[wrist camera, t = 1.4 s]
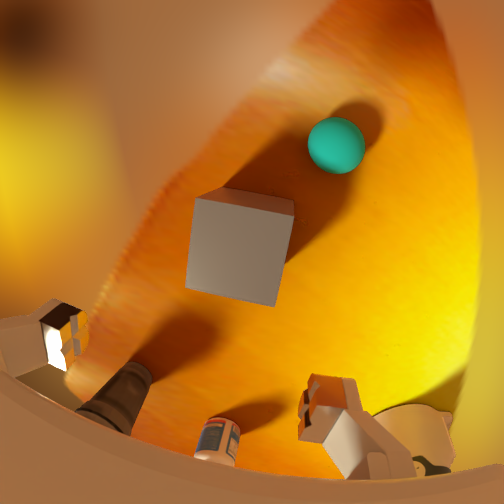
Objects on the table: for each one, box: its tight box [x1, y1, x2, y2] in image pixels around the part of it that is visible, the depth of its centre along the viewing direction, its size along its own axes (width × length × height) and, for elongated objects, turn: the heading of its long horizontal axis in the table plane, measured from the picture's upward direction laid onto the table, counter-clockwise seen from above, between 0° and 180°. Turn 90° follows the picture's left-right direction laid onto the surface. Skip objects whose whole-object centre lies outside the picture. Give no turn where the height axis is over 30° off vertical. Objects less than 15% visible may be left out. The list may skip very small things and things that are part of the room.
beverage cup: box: [75, 362, 152, 436], centre depth 29 cm, size 7×7×20 cm
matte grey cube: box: [185, 187, 294, 307], centre depth 26 cm, size 7×7×9 cm
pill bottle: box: [194, 417, 240, 467], centre depth 35 cm, size 6×5×10 cm
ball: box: [308, 117, 365, 174], centre depth 25 cm, size 5×5×5 cm
